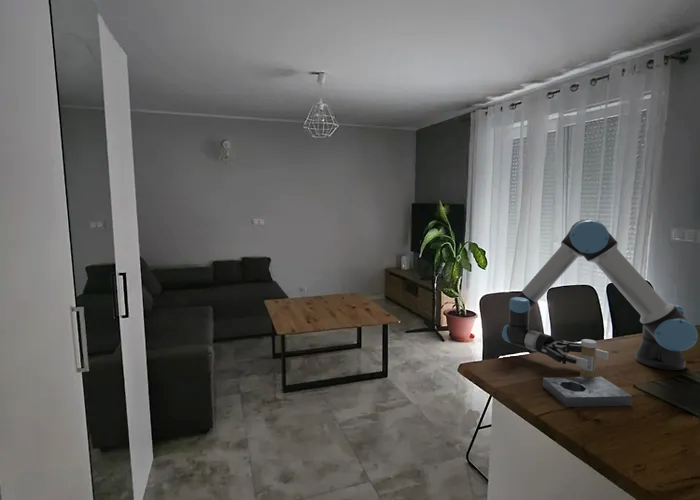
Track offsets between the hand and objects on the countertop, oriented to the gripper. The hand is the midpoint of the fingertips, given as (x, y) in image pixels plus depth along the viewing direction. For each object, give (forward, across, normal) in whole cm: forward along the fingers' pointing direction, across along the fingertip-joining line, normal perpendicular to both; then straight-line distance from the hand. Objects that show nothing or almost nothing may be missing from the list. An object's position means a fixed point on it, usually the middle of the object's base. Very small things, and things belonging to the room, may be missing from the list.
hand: (597, 360), depth 135 cm
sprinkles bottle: (-3, 0, -8) cm, 8 cm away
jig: (+4, +14, -8) cm, 17 cm away
